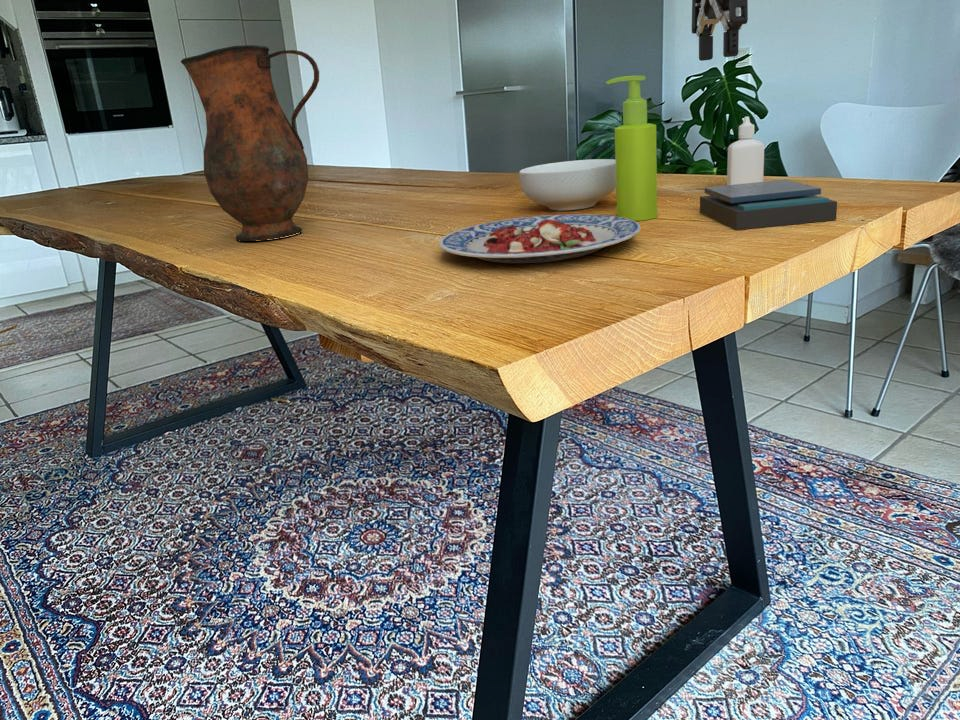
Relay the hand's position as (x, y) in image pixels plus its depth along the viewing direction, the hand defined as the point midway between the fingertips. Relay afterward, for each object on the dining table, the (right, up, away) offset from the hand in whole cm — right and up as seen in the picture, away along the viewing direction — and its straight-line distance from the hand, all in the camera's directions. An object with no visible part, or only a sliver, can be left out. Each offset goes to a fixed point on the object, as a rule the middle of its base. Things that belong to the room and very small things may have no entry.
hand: (717, 58), depth 121 cm
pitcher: (-73, -28, +6) cm, 79 cm away
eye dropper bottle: (+6, -21, +3) cm, 22 cm away
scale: (0, -30, -19) cm, 35 cm away
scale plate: (0, -26, -18) cm, 32 cm away
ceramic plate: (-31, -35, -25) cm, 53 cm away
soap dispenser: (-16, -28, -10) cm, 34 cm away
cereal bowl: (-23, -24, +5) cm, 34 cm away
